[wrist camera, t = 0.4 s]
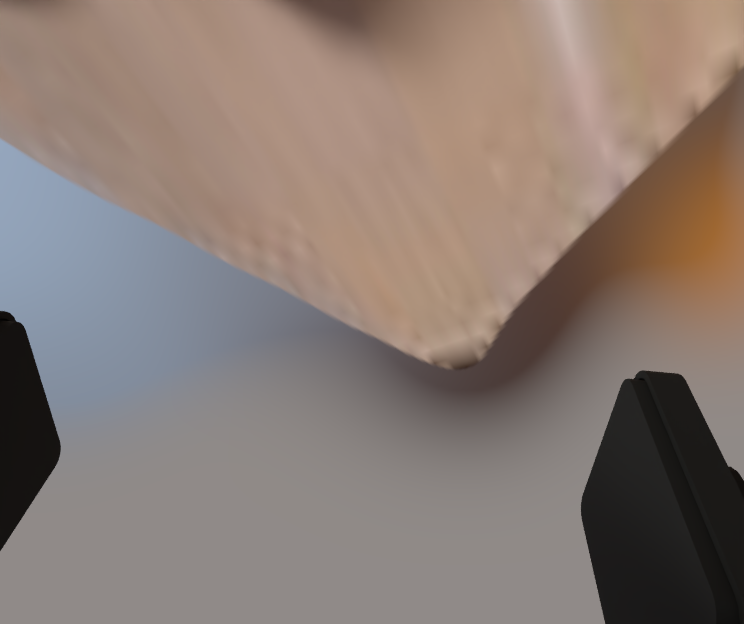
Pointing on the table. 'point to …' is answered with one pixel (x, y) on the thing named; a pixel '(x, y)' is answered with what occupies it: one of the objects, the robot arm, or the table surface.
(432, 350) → the table surface
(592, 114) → the table surface
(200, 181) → the table surface
